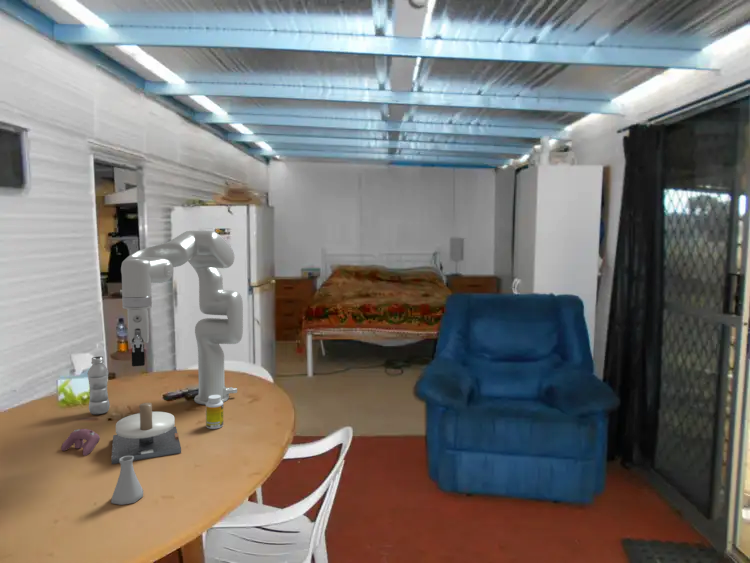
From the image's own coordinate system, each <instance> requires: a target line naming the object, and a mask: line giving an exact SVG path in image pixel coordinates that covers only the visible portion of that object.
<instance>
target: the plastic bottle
mask: <svg viewBox="0 0 750 563" xmlns="http://www.w3.org/2000/svg"><path fill="white" fill-rule="evenodd" d="M104 363H105V358H104V356H93V357H92V358H91V364H92V365H91V366H90V367H89V369H88V371H87V379H88V384H89V403H88V410H89V413H90V414H91V415H102V414H106V413H107V412H109V410H110V406H111V402H110V400H109V395H108V380H109V378H108V377H109V370H108V368H107V366H106V365H105V364H104Z"/></svg>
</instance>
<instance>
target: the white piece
mask: <svg viewBox="0 0 750 563" xmlns="http://www.w3.org/2000/svg"><path fill="white" fill-rule="evenodd" d="M175 421H176V420H175V416H174V415H173V414H172V413H170V412H165V411H153V403H152V402H143V403H140V404H139V412H138V413H134V414H130V415H128V416H125V417H122V418H121V419H119V420H117V422H116V423H115V435H118V436H121V437H124V438H147V437H152V436H157V435H160V434H163V433H165V432H168V431H169V430H171V429H172V428H173V427H175V424H176V423H175Z"/></svg>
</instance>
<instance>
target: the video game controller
mask: <svg viewBox="0 0 750 563" xmlns="http://www.w3.org/2000/svg"><path fill="white" fill-rule="evenodd" d="M100 439H101V438H100V435H99V433H97V432H95V431H94V430H92V429H88V428H81V429H80V428H79V429H74V430H73V431H72V432H70V434H68V437H67V438H66V439H65V440H64V441H63V443H62V445H61V448H60V449H61V451H62V452H65V451H67V450H69V449H70V448H72V446H73V445H74V448H75V449H83V451H82V455H83V456H85V457H86V456H88V455H89V454H90V453H92V452H93V450H94V449H95V447H96V445H97V444H99V441H100ZM84 441H85V442H84Z"/></svg>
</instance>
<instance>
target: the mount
mask: <svg viewBox="0 0 750 563" xmlns="http://www.w3.org/2000/svg"><path fill="white" fill-rule="evenodd" d="M177 454H178V455H179V454H182V447H181V442H180V437H179V432H178V429H177V426H175V425H174V427H173V428H172V429H171V430H169V431H168V432H165V433H163V434H160V435H157V436H152V437H147V438H124V437H121V436H118V435H117V434H113V436H112V448H111V465H116V464H120V463H119V459H120V458H121V457H123V456H134V459H133V462H134V461H140V460H146V459H147V460H148V459H153V458H160V457H164V456H172V455H177Z"/></svg>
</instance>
